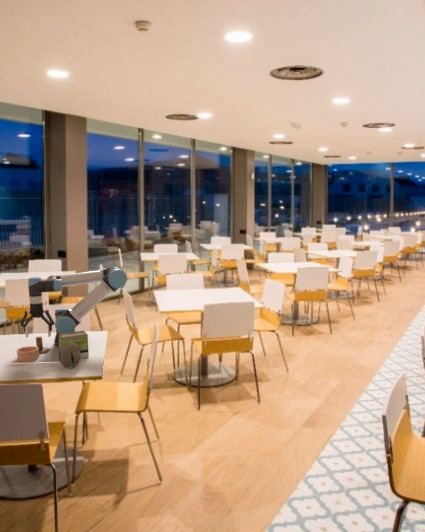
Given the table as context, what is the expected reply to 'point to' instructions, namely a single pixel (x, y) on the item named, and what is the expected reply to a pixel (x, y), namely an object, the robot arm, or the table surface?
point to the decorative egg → (69, 354)
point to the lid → (41, 346)
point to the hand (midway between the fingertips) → (38, 336)
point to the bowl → (28, 353)
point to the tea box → (76, 341)
